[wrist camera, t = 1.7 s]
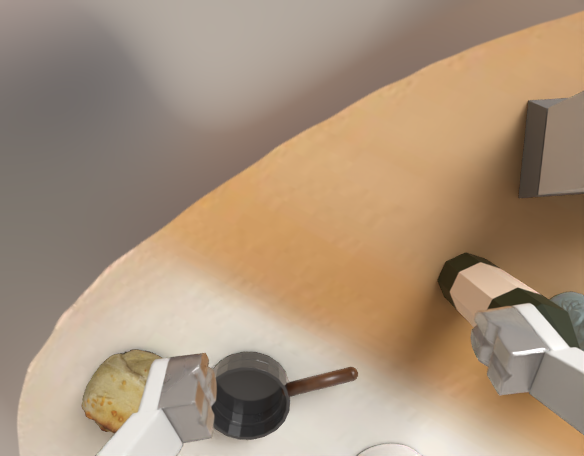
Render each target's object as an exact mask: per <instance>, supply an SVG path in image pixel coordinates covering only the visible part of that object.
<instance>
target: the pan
mask: <svg viewBox="0 0 584 456" xmlns="http://www.w3.org/2000/svg"><path fill="white" fill-rule="evenodd" d="M213 371H214V373H215V377H216V385H217V394H216V401H215V403H214V404H213V405H212V407H211V409H212V411H213V413H214V424H213V427H214V428H215V429H216V430H218V431H219V432H221V433H223V434H224V435H226V436H229V437H232V438H236V439H246V440H252V439H257V438H261V437H265V436H267V435H269V434H270V433H272V432H274V431H276V430H277V429H278V428H279V427H280V426H281V425H282V424H283V423H284V421H285V419H286V417H287V415H288V413H289V407H290V397H289V395H288V392H287V386H286V383H288V382H289V380H288V377H287V374H286V371H285V370H284V369H283V368H282V366H281V365H280V364H279V363H278V362H277V361H275V360H274V359H272V358H271V357H269V356H267V355H264V354H261V353H258V352H240V353H236V354H232V355H229V356H228V357H226V358H225V359H223V360H221V361H220V362H219V363H218V364H217V365H216V366H215V368H214V369H213ZM282 389H283V390H284V393H285V396H284V395H283V394H282Z"/></svg>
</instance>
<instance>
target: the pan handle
mask: <svg viewBox="0 0 584 456" xmlns="http://www.w3.org/2000/svg"><path fill="white" fill-rule="evenodd" d="M357 377H358V372H357V370H356V369H355V368H354V367H348V368H344V369H340V370H336V371H332V372H328V373H324V374H320V375H316V376H312V377H308V378H304V379H300V380H296V381H292V382H288V383H286V386H287V392H288V395H289V397H291V396H295V395H299V394H303V393H307V392H311V391H315V390H319V389H323V388H327V387H331V386H335V385H338V384H342V383H346V382H350V381H354V380H356V379H357ZM282 394H283V395H284V396H285V393H284V390H283V389H282Z"/></svg>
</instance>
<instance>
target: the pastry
mask: <svg viewBox="0 0 584 456" xmlns="http://www.w3.org/2000/svg"><path fill="white" fill-rule="evenodd" d="M155 359H162V357H160V356H158V355H156V354H154V353H153V352H152V353H151V352H148V351H141V350H138V349H137V350H136V349H134V350H130V352H125V353H124V354H122V353H121V354H115V355H112V356H111V357H109V358H108V359H107V360H106V361H105V362H104V363H103V364H101V365H100V367H99V368H98V369H97V371H96V372H95V373H94V375H93V376H92V378H91V380H90V382H89V383H88V385H87V387H86V390H85V393H84V395H83V402H82V409H83V410H84V411H85V414H86V417H88V418H89V419H92V420H95V422H96V423H97V424H98V425H99V427H100V428H101V430H102V431H105V432H108V431H110V432H113V433H116V432H117V431H118V429H119V428H120V427H121V426H122V425H123V424H124V423H125V421H126V420H127V419H128V418H129V417H130V416H131V415H132V413H137V412H138V409H139V406H140V402H141V399H142V395H143V392H144V388H145V385H146V381H147V377H148V374H149V370H150V367H151V364H152V363H153V361H154V360H155Z"/></svg>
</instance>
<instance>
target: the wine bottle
mask: <svg viewBox="0 0 584 456" xmlns="http://www.w3.org/2000/svg"><path fill="white" fill-rule="evenodd" d="M437 281H438V283H439V285H440V288H441V290H442V292H443V295H444V297H445V298H446V299H447V300H448V301H449V302H450V303H451V304H452V305H453V306H454V307H455V308H456V309H457V310H458V311H459V312H460V314H461V315H462V316H463V317H464V318H465V319H466V320H467V321H468V322H469V323H470V324H471V325H472V326H473V327H475V326H476V325H477V324H476V323H475V321H474V317H475V313H476V312H477V311H481V310H487V309H493V308H499V307H505V306H514V305H520V304H527V303H530V304H532V305H534V306H535V307H536V309H537V310H538V311H539V312H540V313H541V314H542V316H543V317H544V318H545V319H546V320H547V321H548V322H549V324H550V325H551V326H552V327H553V328H554V329H555V331H556V332H557V333H558V334H559V335H560V336H561V338H562V339H563V340H564V341H565V342H566V343H567V345H568V346H569V347H570V348H573V347H576V348H578V349H580V347H579V344H578V341H577V338H576V335H575V332H574V329H573V325H572V322H571V319H570V316H569V313H568V311H566V310H564V309H563V308H561V307H560V306H558V305H557V304H555V303H553V302H552V301H550V300H549V299H547V298H546V297H544V296H543V295H541V294H539V293H538V292H536V291H535V290H533V289H532V288H530V287H528V286H527V285H525V284H524V283H522V282H521V281H519V280H518V279H516V278H514V277H513V276H511V275H510V274H508V273H507V272H505V271H503V270H502V269H500V268H499V267H497V266H496V265H494V264H492V263H491V262H489V261H488V260H486V259H485V258H482V257H478V256H475V255H472V254H469V253H464V254H461V255H459V256H457V257H455V258H453V259H451V260H448V261H446V263H445V265H444V267H443V269H442V271H441V274H440V276H439V278H438V280H437Z"/></svg>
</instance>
